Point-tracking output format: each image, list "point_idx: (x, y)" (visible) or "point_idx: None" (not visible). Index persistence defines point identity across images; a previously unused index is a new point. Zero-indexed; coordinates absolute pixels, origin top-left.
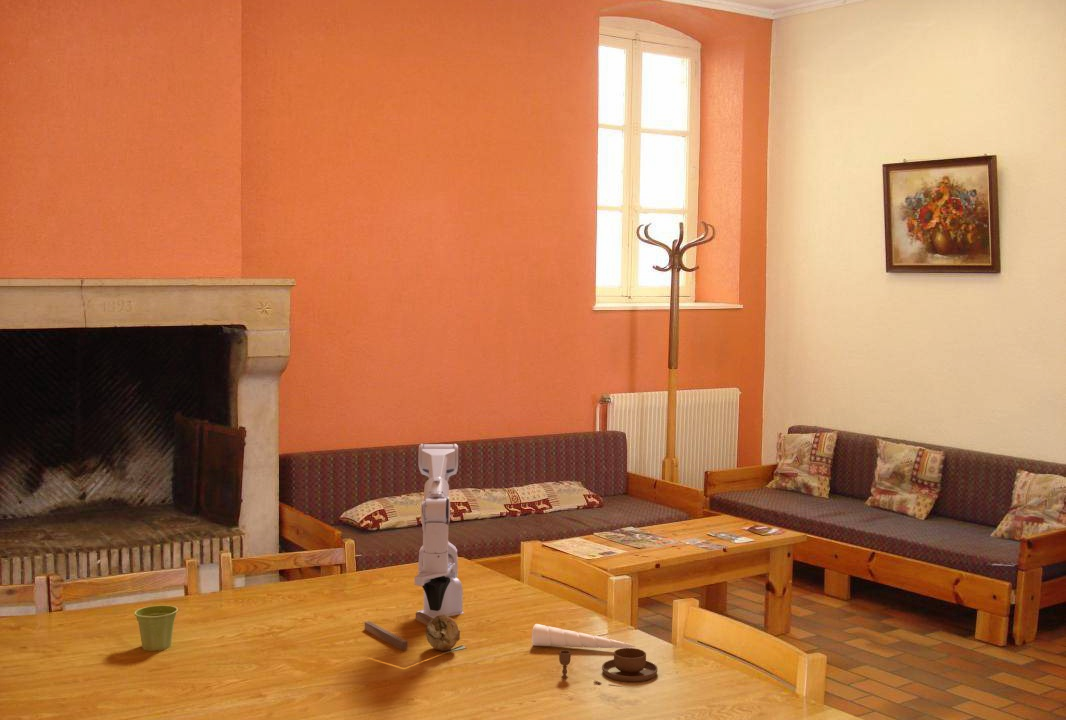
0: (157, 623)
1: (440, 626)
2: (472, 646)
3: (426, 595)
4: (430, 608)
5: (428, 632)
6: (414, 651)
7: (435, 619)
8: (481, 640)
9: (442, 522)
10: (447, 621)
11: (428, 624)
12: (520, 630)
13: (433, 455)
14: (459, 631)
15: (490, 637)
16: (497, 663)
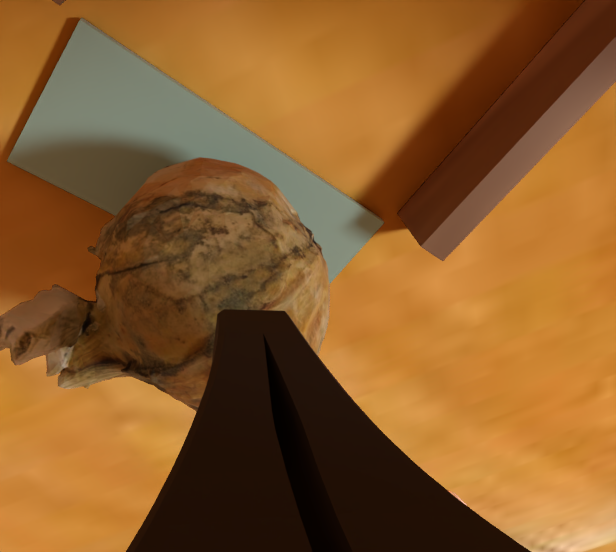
0: None
1: (131, 360)
2: (351, 313)
3: (189, 436)
4: (217, 328)
5: (100, 242)
6: (127, 41)
7: (166, 334)
8: (452, 310)
9: None
10: (192, 406)
11: (166, 236)
12: (604, 379)
13: None
14: (440, 257)
15: (502, 324)
16: (163, 475)
